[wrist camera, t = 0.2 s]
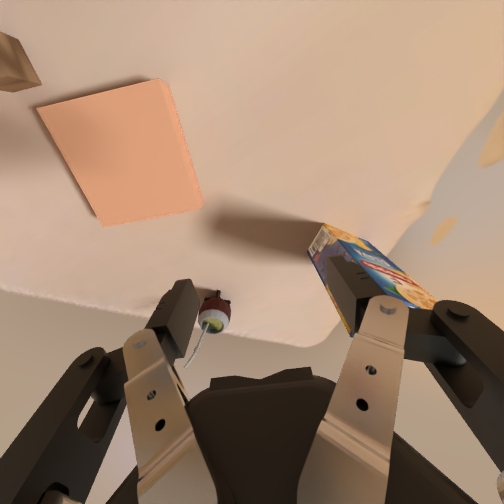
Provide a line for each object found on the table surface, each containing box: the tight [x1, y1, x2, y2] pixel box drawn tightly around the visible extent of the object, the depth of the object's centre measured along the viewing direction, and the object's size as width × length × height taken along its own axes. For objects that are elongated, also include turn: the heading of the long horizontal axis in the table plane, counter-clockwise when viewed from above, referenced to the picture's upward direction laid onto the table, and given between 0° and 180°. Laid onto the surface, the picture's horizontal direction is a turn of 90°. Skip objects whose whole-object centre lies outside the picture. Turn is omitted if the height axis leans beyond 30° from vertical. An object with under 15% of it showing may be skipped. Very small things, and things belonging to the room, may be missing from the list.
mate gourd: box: [184, 290, 231, 369], centre depth 44 cm, size 8×8×15 cm
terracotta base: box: [36, 78, 204, 227], centre depth 34 cm, size 18×18×4 cm
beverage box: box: [307, 223, 438, 338], centre depth 34 cm, size 7×11×22 cm, turn 68°
